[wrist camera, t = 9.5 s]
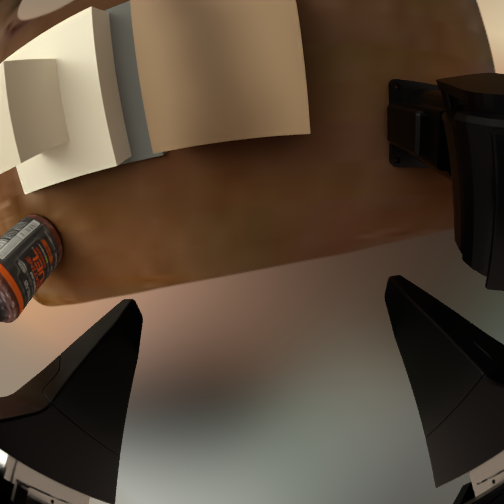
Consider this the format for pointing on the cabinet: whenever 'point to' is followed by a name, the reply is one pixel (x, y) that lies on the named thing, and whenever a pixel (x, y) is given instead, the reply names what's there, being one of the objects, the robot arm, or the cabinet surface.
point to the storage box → (219, 70)
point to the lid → (62, 104)
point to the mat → (129, 83)
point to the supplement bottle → (26, 263)
